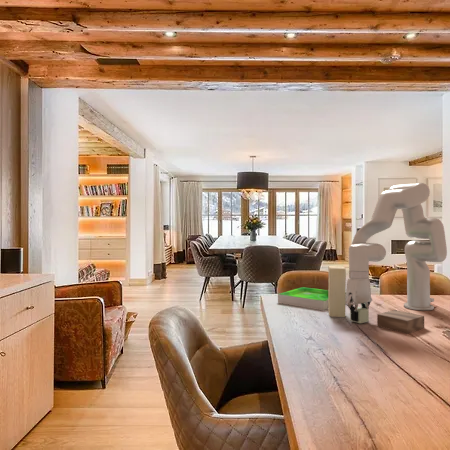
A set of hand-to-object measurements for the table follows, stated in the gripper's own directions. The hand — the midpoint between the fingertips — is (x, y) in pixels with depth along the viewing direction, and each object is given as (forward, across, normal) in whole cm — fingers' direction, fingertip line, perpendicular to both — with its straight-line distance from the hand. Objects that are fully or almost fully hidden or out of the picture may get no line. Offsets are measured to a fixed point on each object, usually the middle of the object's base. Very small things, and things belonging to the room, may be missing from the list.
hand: (359, 319), depth 150 cm
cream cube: (+1, 0, 0) cm, 1 cm away
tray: (+2, -11, -38) cm, 40 cm away
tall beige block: (+1, -2, -13) cm, 13 cm away
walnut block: (+2, -8, +13) cm, 15 cm away
